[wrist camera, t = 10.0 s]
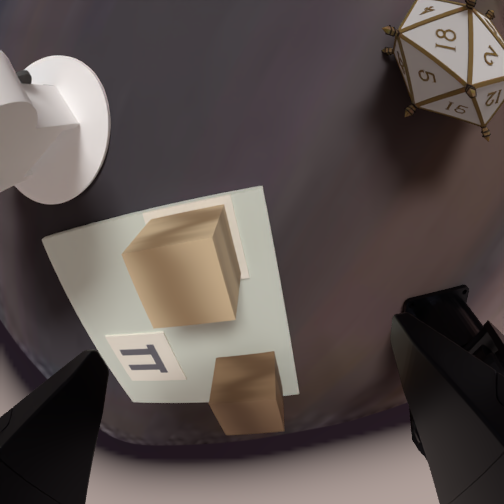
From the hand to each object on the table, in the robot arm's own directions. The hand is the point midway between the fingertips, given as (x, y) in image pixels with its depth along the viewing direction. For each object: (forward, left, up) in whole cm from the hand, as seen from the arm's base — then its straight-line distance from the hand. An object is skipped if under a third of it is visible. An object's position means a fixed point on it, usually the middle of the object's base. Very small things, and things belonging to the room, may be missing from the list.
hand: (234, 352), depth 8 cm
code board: (+8, +9, -13) cm, 18 cm away
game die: (-13, -8, -13) cm, 20 cm away
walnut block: (+3, +15, -12) cm, 20 cm away
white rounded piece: (+13, -9, -13) cm, 21 cm away
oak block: (+4, +2, -12) cm, 13 cm away
